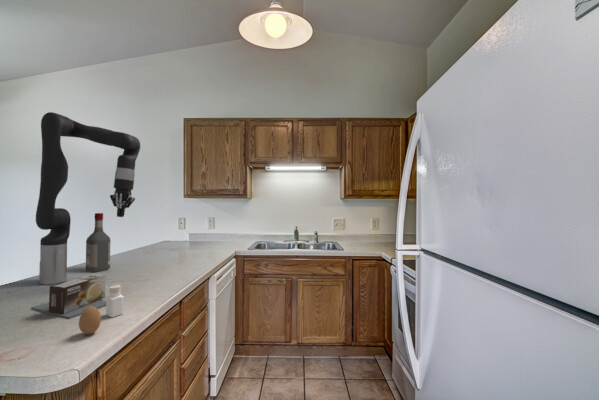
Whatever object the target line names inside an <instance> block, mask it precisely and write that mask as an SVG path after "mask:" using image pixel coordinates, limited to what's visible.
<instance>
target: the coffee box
mask: <svg viewBox="0 0 599 400" xmlns="http://www.w3.org/2000/svg"><path fill="white" fill-rule="evenodd" d="M106 280H107V275H106V274H102V273H91V274H88V275H84V276H80V277H77V278H74V279H71V280H66V281H64V282H61V283H56V284H51V285H49V293H48V294H49V299H48V302H49V312H50V313H56V314H59V313H61V314H65V313H68V312H70V311H73V310H75V309H78V308H80V307H83V306H85V305H88V304H90V303H93V302H95V301H98V300H103V299H105V298H106V285H107V284H106V282H107V281H106Z"/></svg>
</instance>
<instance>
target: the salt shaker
mask: <svg viewBox="0 0 599 400" xmlns="http://www.w3.org/2000/svg"><path fill="white" fill-rule="evenodd" d="M121 292H122V285H119V284H118V285H117V284H116V285H111V286H110V287H109V295H108V296H107V297H105V298H106V300H105V301H106V306H105V314H106V316H108V317H110V318H116V317H118V316H121V315H123V314H124V297H125V296H124V295H122V294H121Z"/></svg>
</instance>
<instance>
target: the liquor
mask: <svg viewBox="0 0 599 400" xmlns="http://www.w3.org/2000/svg"><path fill="white" fill-rule="evenodd" d="M103 223H104V212H96V213H94V229H93V232H92V233H91V234H89V236H88V237H87V238H86V241H85V271H86V272H88V273H101V272H105V271H108V270H109V269H110V268H111V237H110V236H109V235H108V234H106V232H105V231H104V226H103Z"/></svg>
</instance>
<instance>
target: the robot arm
mask: <svg viewBox="0 0 599 400" xmlns="http://www.w3.org/2000/svg"><path fill="white" fill-rule="evenodd" d="M40 130H41V133H40V134H41V165H40V185H39V195H38V200H37V201H38V202H37V207H36V212H35V223H36V226H37V228H39V229H40V230H45V231H47V230H48V231H49V230H50V232H49V233H47V234H46V235H45V236H42V237H41V238H40V241H39V242H40V244H39V245H40V248H39V249H40V250H39V251H40V253H39V255H40V256H39V258H40V259H39V271H38V272H39V273H38V274H39V279H38V280H39V281H38V282H39V284H40V285H56V284H59V283H63V282H67V281H68V280H67V279H68V277H67V276H68V270H67V269H68V268H67V267H68V239H69V237H70V234H71V233H70V232H71V214H70V212H69V211H68V210H67V209H65V208H63V207H62V208H61V207H60V208H59V207H56V200H57V197H58V195H59V193H61V191H62V189H64V186H66V183H67V181H68V177H69V165H68V161H67V159H66V157H65V154H64V152H63V149H62V146H61V145H62V144H61V138H62V137H68V138H69V137H70V138H78V139H83V140H88V141H91V142H94V143H96V144H100V145H104V146H110V147H112V146H113V147H115V148H119V149H122V150H123V153H122V154H121V155H118V157H117V162H116V168H115V169H116V170H115V174H114V181H113V182H114V183H113V188H114V189H115V190H114V193H112V194H110V195H109V198H110V200H111V202H112V205H113V207H116V209H117V210H116V217H117V218H124V216H125V212H126V211H125V210H126V209H129V208H130V207H131V206H132V204H133V203H134V202H135V200H136V197H133V196H132V191H133V190H134V184H135V173H136V172H135V171H136V160H137V158H138V156H139V153H140V150H141V141H140V139H139V138H137V137H136V136H133V135H131V134H129V133H125V132H121V131H114V130H111V129H107V128H103V127H98V126H93V125H91V126H90V125H86V124H84V123H81V122H78V121H76V120H73V119H71V118H69V117H68V116H65V115H62V114H59V113H56V112H52V111H49V112H47V113H45V114H43V116H42V118H41V120H40Z"/></svg>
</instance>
